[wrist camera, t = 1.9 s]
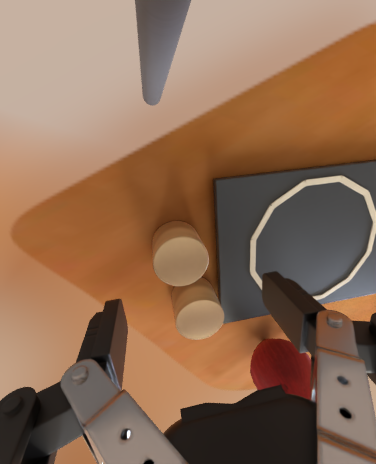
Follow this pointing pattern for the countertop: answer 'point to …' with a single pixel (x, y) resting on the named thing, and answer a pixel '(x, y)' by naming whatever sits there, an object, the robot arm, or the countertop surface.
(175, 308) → the dot
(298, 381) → the onion
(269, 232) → the slate board
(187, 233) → the dot
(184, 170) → the countertop surface
